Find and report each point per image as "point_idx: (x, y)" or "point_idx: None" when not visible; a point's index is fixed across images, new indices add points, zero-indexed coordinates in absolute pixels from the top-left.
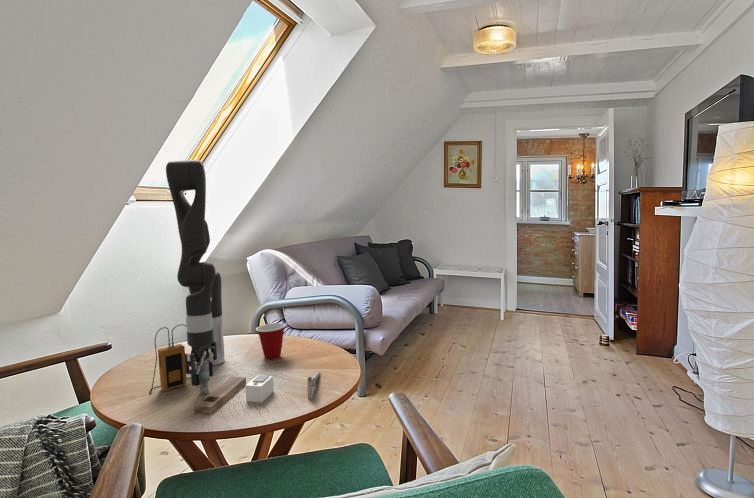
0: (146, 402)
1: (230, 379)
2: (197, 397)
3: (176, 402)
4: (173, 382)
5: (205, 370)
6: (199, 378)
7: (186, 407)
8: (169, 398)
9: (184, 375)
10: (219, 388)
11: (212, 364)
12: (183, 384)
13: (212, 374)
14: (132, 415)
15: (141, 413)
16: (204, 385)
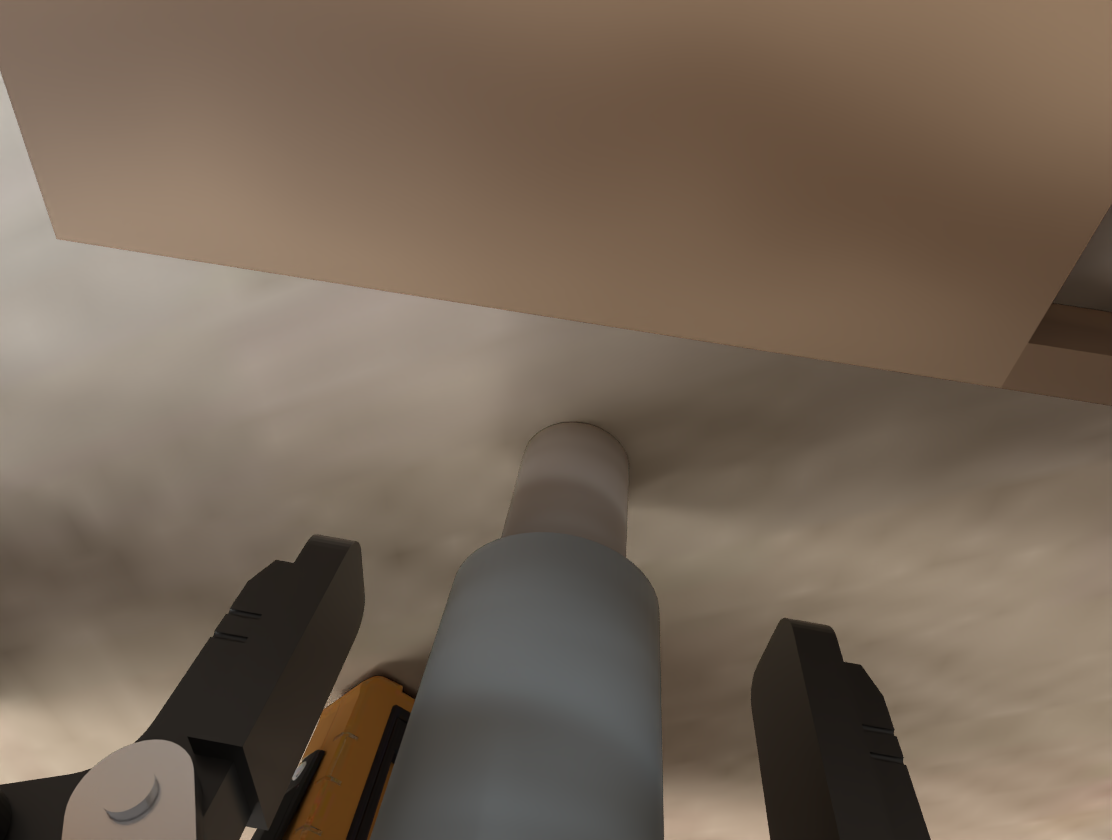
0: (765, 813)
1: (187, 203)
2: (709, 500)
3: None
4: None
5: (620, 795)
6: (825, 736)
7: (1022, 531)
8: (700, 712)
9: (346, 786)
10: (647, 271)
11: (189, 740)
12: (395, 697)
13: (334, 556)
14: (1031, 836)
15: (1013, 803)
16: (614, 536)
